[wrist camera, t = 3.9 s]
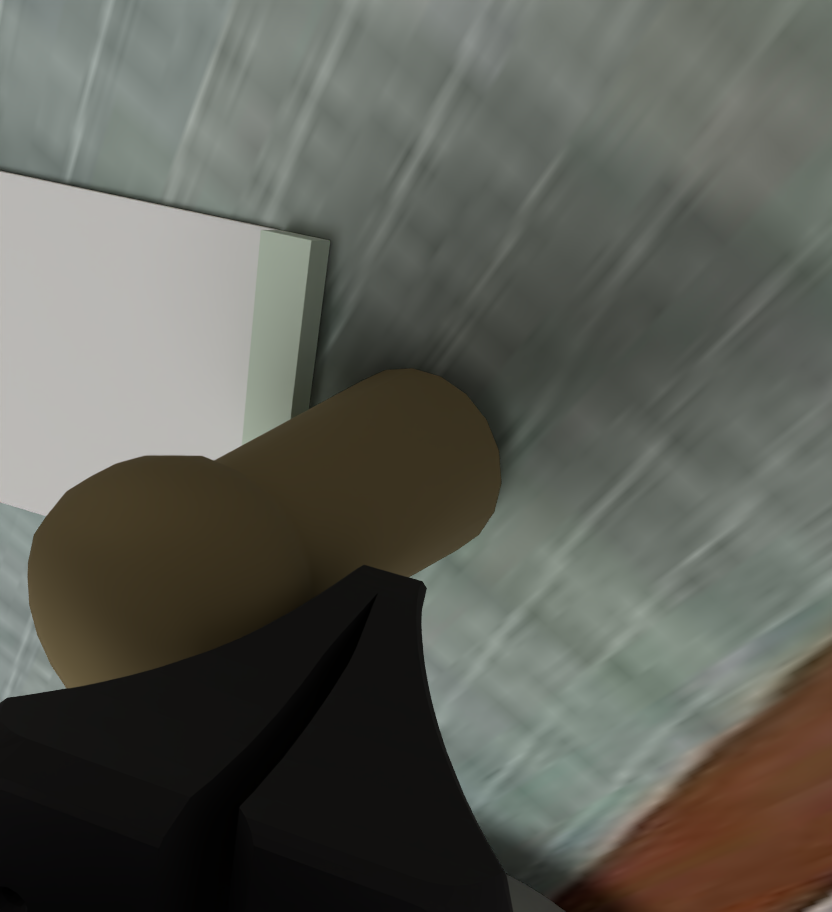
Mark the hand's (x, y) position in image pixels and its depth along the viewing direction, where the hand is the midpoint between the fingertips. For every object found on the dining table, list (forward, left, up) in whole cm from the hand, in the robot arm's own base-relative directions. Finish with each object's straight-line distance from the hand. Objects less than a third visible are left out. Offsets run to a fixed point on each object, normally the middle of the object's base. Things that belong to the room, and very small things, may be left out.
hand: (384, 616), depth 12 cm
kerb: (+6, 0, -8) cm, 10 cm away
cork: (+1, 0, -8) cm, 8 cm away
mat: (+13, 0, -8) cm, 15 cm away
